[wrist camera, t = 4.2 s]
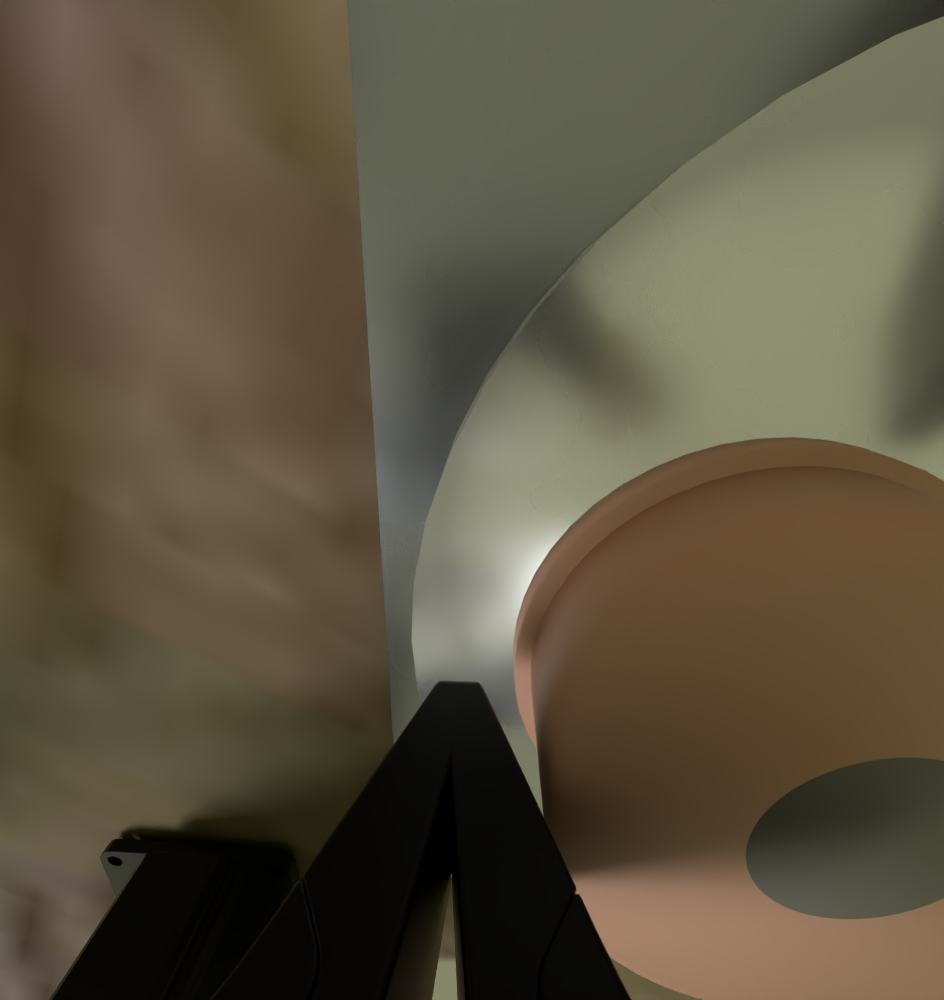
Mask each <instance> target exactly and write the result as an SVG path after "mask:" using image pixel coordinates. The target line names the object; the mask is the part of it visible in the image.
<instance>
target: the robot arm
mask: <svg viewBox="0 0 944 1000" xmlns="http://www.w3.org/2000/svg"><path fill="white" fill-rule="evenodd" d="M100 859H101V862H102V864H103V867H104V869H105V871H106V874H107V876H108V878H109V881H110V883H111V885H112V887H113V890H114V892H115V894H116V899H115V900H114V902H113V903H112V905H111V906H110V908H109V909H108V911H107V912H106V914H105V915H104V917H103V918H102V920H101V922H100V923H99V925H98V926H97V928H96V929H95V931H94V932H93V934H92V935H91V937H90V938H89V940H88V941H87V943H86V944H85V946H84V947H83V949H82V950H81V952H80V953H79V955H78V957H77V958H76V960H75V961H74V963H73V964H72V966H71V967H70V969H69V970H68V972H67V973H66V975H65V976H64V978H63V979H62V981H61V982H60V984H59V985H58V987H57V989H56V990H55V992H54V993H53V995H52V996H51V998H50V999H49V1000H432V996H433V990H434V983H435V977H436V970H437V964H438V958H439V951H440V945H441V938H442V932H443V926H444V919H445V913H446V906H447V900H448V894H449V887H450V881H451V875H452V889H453V911H454V933H455V954H456V976H457V998H458V1000H632V999H631V997H630V995H629V994H628V992H627V990H626V988H625V986H624V984H623V982H622V980H621V978H620V976H619V974H618V972H617V970H616V968H615V966H614V964H613V962H612V960H611V958H610V956H609V954H608V952H607V950H606V948H605V946H604V944H603V942H602V940H601V938H600V936H599V934H598V932H597V930H596V928H595V926H594V923H593V921H592V919H591V917H590V915H589V913H588V911H587V908H586V906H585V904H584V902H583V900H582V898H581V896H580V895H579V894H576V891H577V888H576V885H575V883H574V881H573V879H572V877H571V875H570V873H569V870H568V868H567V866H566V864H565V862H564V860H563V857H562V855H561V853H560V851H559V849H558V847H557V845H556V842H555V840H554V838H553V836H552V834H551V832H550V830H549V827H548V825H547V823H546V821H545V819H544V817H543V814H542V812H541V810H540V808H539V806H538V804H537V802H536V799H535V797H534V795H533V793H532V791H531V789H530V786H529V784H528V782H527V780H526V778H525V776H524V774H523V771H522V769H521V767H520V765H519V763H518V761H517V759H516V756H515V754H514V752H513V750H512V748H511V746H510V743H509V741H508V739H507V737H506V735H505V733H504V731H503V728H502V726H501V724H500V722H499V720H498V718H497V715H496V713H495V711H494V709H493V707H492V705H491V703H490V700H489V698H488V696H487V694H486V692H485V690H484V688H483V686H482V684H481V683H480V682H474V681H439V682H437V683H436V685H435V686H434V687H433V689H432V690H431V692H430V693H429V694H428V696H427V697H426V699H425V700H424V702H423V703H422V704H421V706H420V707H419V709H418V710H417V712H416V713H415V714H414V716H413V717H412V719H411V720H410V722H409V723H408V724H407V726H406V727H405V729H404V730H403V732H402V733H401V735H400V736H399V737H398V739H397V740H396V742H395V743H394V745H393V746H392V747H391V749H390V750H389V752H388V753H387V755H386V756H385V757H384V759H383V760H382V762H381V763H380V765H379V766H378V767H377V769H376V770H375V772H374V773H373V775H372V776H371V777H370V779H369V780H368V782H367V783H366V785H365V786H364V787H363V789H362V790H361V792H360V793H359V795H358V796H357V797H356V799H355V800H354V802H353V803H352V805H351V806H350V807H349V809H348V810H347V812H346V813H345V815H344V816H343V817H342V819H341V820H340V822H339V823H338V825H337V826H336V828H335V829H334V830H333V832H332V833H331V835H330V836H329V838H328V839H327V840H326V842H325V843H324V845H323V846H322V848H321V849H320V850H319V852H318V853H317V855H316V856H315V858H314V859H313V860H312V862H311V863H310V865H309V866H308V868H307V869H306V870H305V872H304V873H303V875H302V880H303V882H302V881H299V878H298V873H297V868H296V863H295V859H294V857H293V855H292V854H291V853H290V852H288V851H286V850H283V849H276V848H260V847H244V846H228V845H211V844H195V843H179V842H163V841H147V840H130V839H115V840H112V841H111V842H110V843H109V845H108V846H107V848H106V849H105V850H104V852H103V853H102V854H101V856H100Z"/></svg>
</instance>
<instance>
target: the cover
mask: <svg viewBox="0 0 944 1000" xmlns="http://www.w3.org/2000/svg"><path fill="white" fill-rule="evenodd" d="M513 651H514V678H515V691H516V696H517V702H518V707H519V712H520V714H521V717H522V720H523V722H524V725H525V728H526V730H527V733H528V735H529V736H530V738H531V740H532V742H533V743H534V745H535V747H536V749H537V756H538V766H539V776H540V787H541V797H542V807H543V817H544V819H545V821H546V823H547V825H548V827H549V830H550V832H551V834H552V836H553V838H554V840H555V842H556V845H557V847H558V849H559V851H560V853H561V855H562V857H563V860H564V862H565V864H566V866H567V868H568V870H569V873H570V875H571V877H572V879H573V881H574V883H575V885H576V888H577V891H576V894H579V895H580V896H581V898H582V900H583V902H584V904H585V906H586V908H587V911H588V913H589V915H590V917H591V919H592V921H593V923H594V926H595V928H596V930H597V932H598V934H599V936H600V938H601V940H602V942H603V944H604V946H605V948H606V950H607V952H608V954H609V956H610V957H611V958H612V959H614V960H615V961H617V962H618V963H620V964H622V965H623V966H625V967H627V968H628V969H630V970H631V971H633V972H635V973H636V974H638V975H640V976H642V977H644V978H647V979H649V980H651V981H653V982H655V983H657V984H659V985H661V986H664V987H666V988H669V989H672V990H675V991H678V992H680V993H683V994H686V995H689V996H692V997H695V998H699V999H703V1000H944V481H943V480H941V479H939V478H937V477H936V476H934V475H932V474H930V473H929V472H927V471H925V470H923V469H920V468H918V467H915V466H912V465H910V464H907V463H904V462H902V461H899V460H897V459H894V458H891V457H888V456H885V455H882V454H880V453H877V452H874V451H871V450H868V449H865V448H862V447H857V446H853V445H848V444H844V443H839V442H835V441H830V440H821V439H810V438H798V437H784V438H760V439H752V440H746V441H739V442H733V443H727V444H721V445H717V446H714V447H710V448H707V449H703V450H700V451H696V452H693V453H689V454H686V455H683V456H681V457H678V458H676V459H673V460H671V461H668V462H666V463H664V464H661V465H659V466H656V467H654V468H652V469H650V470H648V471H646V472H644V473H642V474H641V475H639V476H637V477H635V478H633V479H632V480H630V481H628V482H626V483H624V484H622V485H621V486H619V487H618V488H617V489H615V490H614V491H612V492H611V493H610V494H608V495H607V496H605V497H604V498H603V499H601V500H600V501H598V502H597V503H596V504H594V505H593V506H592V507H591V508H590V509H589V510H587V511H586V512H585V513H584V514H583V515H582V516H581V517H580V518H579V519H578V520H576V521H575V522H574V523H573V524H572V525H571V526H570V527H569V528H568V529H567V530H566V532H565V533H564V534H563V535H562V536H561V537H560V539H559V540H558V541H557V542H556V543H555V544H554V546H553V547H552V548H551V549H550V551H549V552H548V554H547V555H546V557H545V558H544V560H543V561H542V563H541V565H540V566H539V568H538V569H537V571H536V572H535V574H534V576H533V578H532V580H531V583H530V585H529V587H528V589H527V591H526V593H525V595H524V598H523V601H522V604H521V608H520V611H519V615H518V618H517V621H516V629H515V636H514V644H513Z"/></svg>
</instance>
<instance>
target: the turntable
mask: <svg viewBox="0 0 944 1000" xmlns="http://www.w3.org/2000/svg"><path fill="white" fill-rule="evenodd" d="M784 437H798V438H810V439H821V440H830V441H835V442H839V443H844V444H848V445H853V446H857V447H862V448H865V449H868V450H871V451H874V452H877V453H880V454H882V455H885V456H888V457H891V458H894V459H897V460H899V461H902V462H904V463H907V464H910V465H912V466H915V467H918V468H920V469H923V470H925V471H927V472H929V473H930V474H932V475H934V476H936V477H937V478H939V479H941V480H943V481H944V16H943V17H941V18H938V19H935V20H933V21H930V22H928V23H925V24H923V25H920V26H917V27H915V28H912V29H910V30H907V31H904V32H902V33H899V34H897V35H894V36H892V37H891V38H889V39H887V40H885V41H883V42H881V43H879V44H878V45H876V46H874V47H872V48H870V49H868V50H866V51H864V52H863V53H861V54H859V55H857V56H855V57H853V58H851V59H850V60H848V61H846V62H844V63H842V64H840V65H838V66H836V67H835V68H833V69H831V70H829V71H827V72H825V73H823V74H821V75H820V76H818V77H816V78H814V79H812V80H810V81H808V82H807V83H805V84H803V85H801V86H799V87H797V88H795V89H793V90H792V91H790V92H788V93H786V94H784V95H782V96H781V97H780V98H778V99H777V100H775V101H774V102H772V103H771V104H769V105H768V106H767V107H765V108H764V109H762V110H761V111H759V112H758V113H757V114H755V115H754V116H752V117H751V118H749V119H748V120H747V121H745V122H744V123H742V124H741V125H739V126H738V127H737V128H735V129H734V130H732V131H731V132H729V133H728V134H726V135H725V136H724V137H722V138H721V139H719V140H718V141H716V142H715V143H714V144H712V145H711V146H709V147H708V148H706V149H705V150H704V151H702V152H701V153H699V154H698V155H696V156H695V157H693V158H692V159H691V160H689V161H688V162H686V163H685V164H684V165H682V166H681V167H680V168H679V169H678V170H676V171H675V172H674V173H673V174H672V175H670V176H669V177H668V178H667V179H666V180H664V181H663V182H662V183H661V184H660V185H658V186H657V187H656V188H655V189H654V190H652V191H651V192H650V193H649V194H648V195H646V196H645V197H644V198H643V199H642V200H641V201H640V202H639V203H637V204H636V205H635V206H634V207H633V208H632V209H631V210H630V211H628V212H627V213H626V214H625V215H624V216H623V217H622V218H621V219H619V220H618V221H617V222H616V223H615V224H614V225H613V226H612V227H610V228H609V229H608V230H607V231H606V232H605V233H604V234H603V235H601V236H600V237H599V238H598V239H597V240H596V241H595V242H594V243H592V244H591V245H590V246H589V247H588V248H587V249H586V250H584V251H583V252H582V253H581V254H580V256H579V257H578V258H577V259H576V260H575V261H574V262H573V263H572V265H571V266H570V267H569V268H568V269H567V270H566V271H565V272H564V274H563V275H562V276H561V277H560V278H559V279H558V280H557V282H556V283H555V284H554V285H553V286H552V287H551V288H550V289H549V291H548V292H547V293H546V294H545V295H544V296H543V297H542V298H541V300H540V301H539V302H538V303H537V304H536V305H535V306H534V308H533V309H532V310H531V311H530V312H529V313H528V315H527V316H526V318H525V319H524V320H523V322H522V323H521V325H520V326H519V328H518V329H517V331H516V332H515V334H514V335H513V337H512V338H511V339H510V341H509V342H508V344H507V345H506V347H505V348H504V350H503V351H502V353H501V354H500V355H499V357H498V358H497V360H496V361H495V363H494V364H493V366H492V367H491V369H490V370H489V371H488V373H487V375H486V377H485V379H484V381H483V382H482V384H481V386H480V388H479V390H478V392H477V394H476V396H475V398H474V400H473V402H472V404H471V406H470V408H469V410H468V412H467V414H466V416H465V418H464V420H463V422H462V423H461V425H460V427H459V429H458V431H457V433H456V436H455V439H454V442H453V445H452V448H451V450H450V453H449V456H448V459H447V462H446V465H445V467H444V470H443V473H442V476H441V479H440V482H439V484H438V487H437V490H436V493H435V496H434V499H433V502H432V505H431V508H430V510H429V513H428V516H427V519H426V523H425V528H424V533H423V538H422V543H421V548H420V553H419V558H418V564H417V569H416V574H415V579H414V590H413V614H412V638H411V639H412V647H413V656H414V664H415V673H416V682H417V690H418V693H419V697H420V700H421V704H422V703H423V702H424V700H425V699H426V697H427V696H428V694H429V693H430V692H431V690H432V689H433V687H434V686H435V685H436V683H437V682H439V681H474V682H480V683H481V684H482V686H483V688H484V690H485V692H486V694H487V696H488V698H489V700H490V703H491V705H492V707H493V709H494V711H495V713H496V715H497V718H498V720H499V722H500V724H501V726H502V728H503V731H504V733H505V735H506V737H507V739H508V741H509V743H510V746H511V748H512V750H513V752H514V754H515V756H516V759H517V761H518V763H519V765H520V767H521V769H522V771H523V774H524V776H525V778H526V780H527V782H528V784H529V786H530V789H531V791H532V793H533V795H534V797H535V799H536V802H537V804H538V806H539V808H540V810H541V812H542V814H543V807H542V797H541V787H540V776H539V766H538V756H537V749H536V747H535V745H534V743H533V742H532V740H531V738H530V736H529V735H528V733H527V730H526V728H525V725H524V722H523V720H522V717H521V714H520V712H519V707H518V702H517V696H516V691H515V678H514V651H513V644H514V636H515V629H516V621H517V618H518V615H519V611H520V608H521V604H522V601H523V598H524V595H525V593H526V591H527V589H528V587H529V585H530V583H531V580H532V578H533V576H534V574H535V572H536V571H537V569H538V568H539V566H540V565H541V563H542V561H543V560H544V558H545V557H546V555H547V554H548V552H549V551H550V549H551V548H552V547H553V546H554V544H555V543H556V542H557V541H558V540H559V539H560V537H561V536H562V535H563V534H564V533H565V532H566V530H567V529H568V528H569V527H570V526H571V525H572V524H573V523H574V522H575V521H576V520H578V519H579V518H580V517H581V516H582V515H583V514H584V513H585V512H586V511H587V510H589V509H590V508H591V507H592V506H593V505H594V504H596V503H597V502H598V501H600V500H601V499H603V498H604V497H605V496H607V495H608V494H610V493H611V492H612V491H614V490H615V489H617V488H618V487H619V486H621V485H622V484H624V483H626V482H628V481H630V480H632V479H633V478H635V477H637V476H639V475H641V474H642V473H644V472H646V471H648V470H650V469H652V468H654V467H656V466H659V465H661V464H664V463H666V462H668V461H671V460H673V459H676V458H678V457H681V456H683V455H686V454H689V453H693V452H696V451H700V450H703V449H707V448H710V447H714V446H717V445H721V444H727V443H733V442H739V441H746V440H752V439H760V438H784Z"/></svg>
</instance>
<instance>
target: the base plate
mask: <svg viewBox="0 0 944 1000" xmlns="http://www.w3.org/2000/svg"><path fill="white" fill-rule="evenodd" d="M347 7H348V24H349V40H350V56H351V72H352V88H353V104H354V120H355V136H356V152H357V168H358V184H359V200H360V217H361V233H362V249H363V265H364V281H365V297H366V313H367V329H368V345H369V361H370V377H371V393H372V410H373V426H374V442H375V458H376V474H377V490H378V506H379V522H380V538H381V554H382V570H383V587H384V603H385V619H386V635H387V651H388V667H389V683H390V699H391V715H392V731H393V745H394V743H395V742H396V740H397V739H398V737H399V736H400V735H401V733H402V732H403V730H404V729H405V727H406V726H407V724H408V723H409V722H410V720H411V719H412V717H413V716H414V714H415V713H416V712H417V710H418V709H419V707H420V706H421V700H420V697H419V693H418V690H417V682H416V673H415V664H414V656H413V647H412V639H411V638H412V614H413V590H414V579H415V574H416V569H417V564H418V558H419V553H420V548H421V543H422V538H423V533H424V528H425V523H426V519H427V516H428V513H429V510H430V508H431V505H432V502H433V499H434V496H435V493H436V490H437V487H438V484H439V482H440V479H441V476H442V473H443V470H444V467H445V465H446V462H447V459H448V456H449V453H450V450H451V448H452V445H453V442H454V439H455V436H456V433H457V431H458V429H459V427H460V425H461V423H462V422H463V420H464V418H465V416H466V414H467V412H468V410H469V408H470V406H471V404H472V402H473V400H474V398H475V396H476V394H477V392H478V390H479V388H480V386H481V384H482V382H483V381H484V379H485V377H486V375H487V373H488V371H489V370H490V369H491V367H492V366H493V364H494V363H495V361H496V360H497V358H498V357H499V355H500V354H501V353H502V351H503V350H504V348H505V347H506V345H507V344H508V342H509V341H510V339H511V338H512V337H513V335H514V334H515V332H516V331H517V329H518V328H519V326H520V325H521V323H522V322H523V320H524V319H525V318H526V316H527V315H528V313H529V312H530V311H531V310H532V309H533V308H534V306H535V305H536V304H537V303H538V302H539V301H540V300H541V298H542V297H543V296H544V295H545V294H546V293H547V292H548V291H549V289H550V288H551V287H552V286H553V285H554V284H555V283H556V282H557V280H558V279H559V278H560V277H561V276H562V275H563V274H564V272H565V271H566V270H567V269H568V268H569V267H570V266H571V265H572V263H573V262H574V261H575V260H576V259H577V258H578V257H579V256H580V254H581V253H582V252H583V251H584V250H586V249H587V248H588V247H589V246H590V245H591V244H592V243H594V242H595V241H596V240H597V239H598V238H599V237H600V236H601V235H603V234H604V233H605V232H606V231H607V230H608V229H609V228H610V227H612V226H613V225H614V224H615V223H616V222H617V221H618V220H619V219H621V218H622V217H623V216H624V215H625V214H626V213H627V212H628V211H630V210H631V209H632V208H633V207H634V206H635V205H636V204H637V203H639V202H640V201H641V200H642V199H643V198H644V197H645V196H646V195H648V194H649V193H650V192H651V191H652V190H654V189H655V188H656V187H657V186H658V185H660V184H661V183H662V182H663V181H664V180H666V179H667V178H668V177H669V176H670V175H672V174H673V173H674V172H675V171H676V170H678V169H679V168H680V167H681V166H682V165H684V164H685V163H686V162H688V161H689V160H691V159H692V158H693V157H695V156H696V155H698V154H699V153H701V152H702V151H704V150H705V149H706V148H708V147H709V146H711V145H712V144H714V143H715V142H716V141H718V140H719V139H721V138H722V137H724V136H725V135H726V134H728V133H729V132H731V131H732V130H734V129H735V128H737V127H738V126H739V125H741V124H742V123H744V122H745V121H747V120H748V119H749V118H751V117H752V116H754V115H755V114H757V113H758V112H759V111H761V110H762V109H764V108H765V107H767V106H768V105H769V104H771V103H772V102H774V101H775V100H777V99H778V98H780V97H781V96H782V95H784V94H786V93H788V92H790V91H792V90H793V89H795V88H797V87H799V86H801V85H803V84H805V83H807V82H808V81H810V80H812V79H814V78H816V77H818V76H820V75H821V74H823V73H825V72H827V71H829V70H831V69H833V68H835V67H836V66H838V65H840V64H842V63H844V62H846V61H848V60H850V59H851V58H853V57H855V56H857V55H859V54H861V53H863V52H864V51H866V50H868V49H870V48H872V47H874V46H876V45H878V44H879V43H881V42H883V41H885V40H887V39H889V38H891V37H892V36H894V35H897V34H899V33H902V32H904V31H907V30H910V29H912V28H915V27H917V26H920V25H923V24H925V23H928V22H930V21H933V20H935V19H938V18H941V17H943V16H944V0H347ZM451 878H452V875H451Z"/></svg>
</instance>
